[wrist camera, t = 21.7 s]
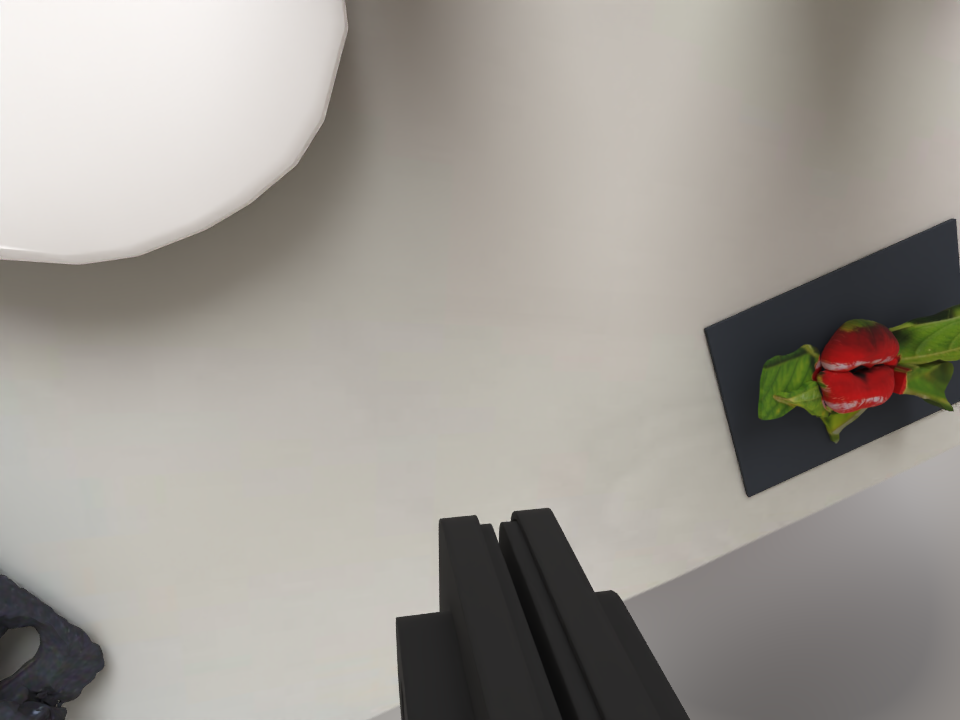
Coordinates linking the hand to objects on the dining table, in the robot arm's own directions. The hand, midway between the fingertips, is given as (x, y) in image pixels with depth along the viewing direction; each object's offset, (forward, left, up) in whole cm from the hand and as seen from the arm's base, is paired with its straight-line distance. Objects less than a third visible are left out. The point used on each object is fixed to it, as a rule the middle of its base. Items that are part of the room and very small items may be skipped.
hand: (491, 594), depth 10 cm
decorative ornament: (-31, -5, -29) cm, 43 cm away
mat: (-32, -6, -29) cm, 44 cm away
